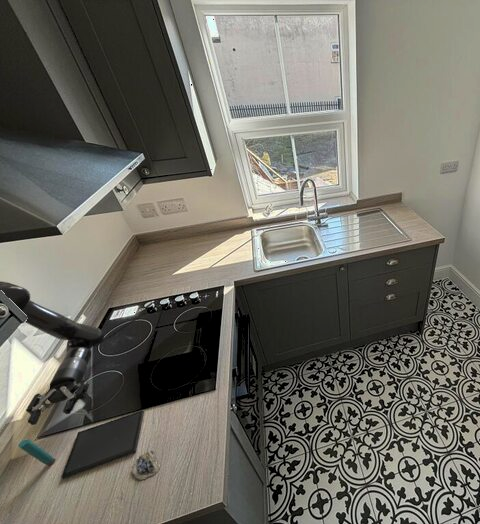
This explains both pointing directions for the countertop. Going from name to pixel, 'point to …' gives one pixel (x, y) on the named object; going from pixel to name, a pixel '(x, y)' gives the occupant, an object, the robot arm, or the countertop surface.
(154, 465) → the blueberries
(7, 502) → the countertop surface
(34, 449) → the teal bar
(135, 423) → the tablet
